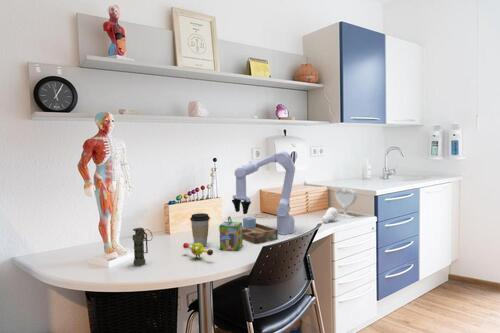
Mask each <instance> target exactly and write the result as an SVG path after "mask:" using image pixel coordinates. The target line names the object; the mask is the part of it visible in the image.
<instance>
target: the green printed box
mask: <svg viewBox="0 0 500 333" xmlns="http://www.w3.org/2000/svg"><path fill="white" fill-rule="evenodd" d="M242 227H243V221H241V222H239V221H232V218H231V215H229V216H228V217H227V221H224V222H222V223H220V224H219V227H218V228H219V229H218V230H219V250H220V251H240V249H241V248H242V246H243V239H242Z"/></svg>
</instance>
